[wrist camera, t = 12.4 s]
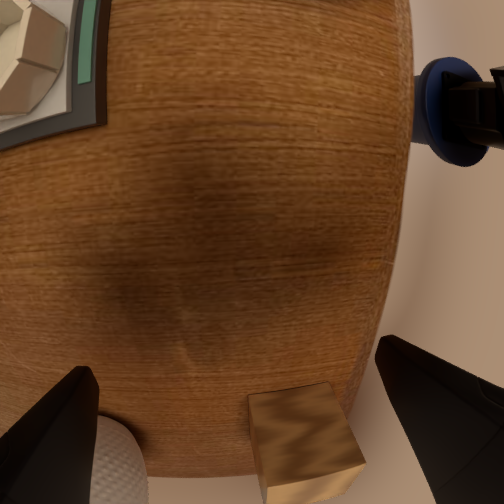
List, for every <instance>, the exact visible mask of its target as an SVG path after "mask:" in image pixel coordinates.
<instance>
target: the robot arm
mask: <svg viewBox="0 0 504 504" xmlns="http://www.w3.org/2000/svg"><path fill="white" fill-rule="evenodd" d="M490 72H491V75H492V76H493V79H494V82H472V81H470V80H468V79H466V78H463V77H461V76H459V75H456V74H454V73H452V72H449V71H442V73H441V80H442V138H443V140H444V141H446V142H451V143H455V144H460V145H464V146H468V147H472V148H476V149H480V150H485V148H486V146H490V147H494V148H499V149H503V150H504V66H503V67H497V68H492V69H490ZM446 75H447V77H446ZM447 136H448V137H447ZM375 363H376V365H377V368H378V371H379V373H380V376H381V378H382V381H383V384H384V386H385V390H386V392H387V395H388V397H389V400H390V402H391V404H392V406H393V408H394V410H395V412H396V414H397V416H398V418H399V420H400V422H401V425H402V427H403V429H404V431H405V433H406V435H407V437H408V439H409V442H410V444H411V446H412V448H413V450H414V452H415V455H416V457H417V459H418V461H419V464H420V466H421V468H422V470H423V473H424V475H425V477H426V480H427V482H428V484H429V486H430V489H431V491H432V493H433V496H434V499H435V501H436V504H504V388H501V387H499V386H496V385H494V384H492V383H490V382H488V381H486V380H484V379H482V378H480V377H477V376H475V375H473V374H471V373H469V372H467V371H465V370H463V369H461V368H459V367H457V366H455V365H453V364H451V363H449V362H447V361H445V360H443V359H441V358H439V357H437V356H435V355H433V354H431V353H428V352H427V351H425V350H423V349H421V348H419V347H417V346H415V345H413V344H411V343H409V342H407V341H405V340H403V339H401V338H399V337H397V336H394V335H387V336H383V337H381V338H380V340H379V343H378V348H377V351H376V354H375ZM98 403H99V385H98V383H97V381H96V379H95V377H94V375H93V373H92V370H91V369H90V368H89V367H88V366H76V367H75V368H74V369H73V370H71V371H70V372H69V373H68V374H67V375H66V376H65V377H64V378H63V379H62V380H61V381H59V382H58V383H57V384H56V385H55V386H54V387H53V388H52V389H51V390H50V391H49V392H48V393H47V394H46V395H44V396H43V397H42V398H41V399H40V400H39V401H38V402H37V403H36V404H35V405H34V406H33V407H32V408H31V409H30V410H29V411H28V412H26V413H25V414H24V415H23V416H22V417H21V418H20V419H19V420H18V421H17V422H16V423H15V424H14V425H13V426H12V427H11V428H10V429H9V430H8V432H6V433H5V434H4V435H3V436H2V437H1V438H0V504H90V489H91V478H92V468H93V459H94V451H95V444H96V436H97V422H98Z"/></svg>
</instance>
